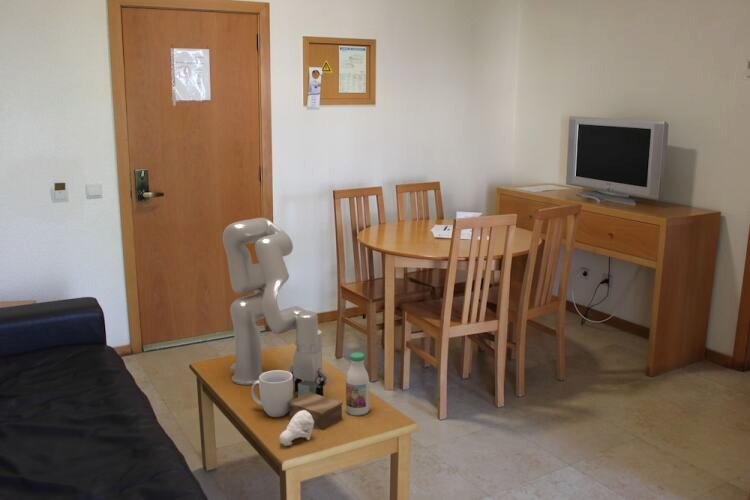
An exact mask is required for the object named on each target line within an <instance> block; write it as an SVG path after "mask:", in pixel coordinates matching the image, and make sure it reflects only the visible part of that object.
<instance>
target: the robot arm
mask: <svg viewBox="0 0 750 500" xmlns="http://www.w3.org/2000/svg"><path fill="white" fill-rule="evenodd" d="M254 243H255V244H254ZM222 244H223V247H224V251H225V253H226V257H227V266H228V272H229V279H230V285H231V288H232V291H233V292H235V294H239V295H241V294H247V293H250V292H251V293H252V292H254V293H252V294H248V295H245V296H241V297H238V298H237V299H235V300H234V301H233V302H232V303H231V305H230V309H229V310H230V317H231V321H232V325H233V335H234V337H233V338H234V353H235V355H234V356H235V362H233V363H232V365H231V366H230V370H231V371H234V374H233V375H232V376H231V377H232V378H231V379H232V382H233V383H235V384H238V385H242V386H250V385H251V386H253V384H254V383H255V382H256V381H258V380H259V377H260V375H261V374H263V373H265V372H266V371H263V364H262V363H263V362H262V361H263V360H262V340H261V339H262V337H261V335H262V334H261V329H260V328H259V326H258V325H257V324H256V321H258V320H261V319H265V322H266V323H267V326H268V327H269V329H270V330H271V331H272V332H273V333H275V334H278V335H279V334H283V333H286V332H287V333H288V332H290V331H292V330H295V342H294V345H295V346H296V349H295V350H294V353H293V360H292V362H293V363H292V365H290V366H288V370H289V372H290V373H291V374H292V375H293V384H294V392H295V393H298V383H300V382H302V381H308V382H314V383H315V384H316V386H317V387H316V394H317V395H321V396H324V386H325V385H326V384H327V382H328V380H329V378H330V377H329V375H328V374H327V373H326V372H325V371H323V360H322V361H321V356H320V352H319V350H318V330H319V327H318V325H319V324H318V323H319V321H318V314H317V313H316V312H315V311H311V310H306V309H305V308H302V307H301V306H299V305H297V306H290V307H288V308H284V309H281V310H280V308H279V305H278V295H279V292H280V290H281V289H282V287H283V286H284V284H285V283H287V281H288V280H289V278H290V274H289V272H288V268H287V266H286V263H285V259H284V257H286V256H289V255H291V253H292V252H293V250H294V249H293V248H294V246H293V241H292V239H291V237H290V236H289V234H287V233H286V231H284V230H283V229H282V228H280V227H279V226H278V225H277V224H275V223H274V222H272V221H271V220H270V219H268V218H265V217H256V218H251V219H244V220H239V221H235V222H233V223H230V224H229V225H227V226H226V227H225V229H224V230H223V233H222ZM248 244H254V252H255V256H256V259H257V260H258V263H253V260H252V255H251V251H250V250H249V249H248V247H247V246H246V245H248ZM318 380H319V382H320V383H319V382H318Z"/></svg>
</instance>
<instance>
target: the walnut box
mask: <svg viewBox="0 0 750 500" xmlns="http://www.w3.org/2000/svg"><path fill="white" fill-rule="evenodd" d="M288 405H289V411H288V412H289V413H288V414H289V419H290V420H291V419H292V417H293V416H294V415H295V414H296V413H298V412H299V411H302V410H306V411H307V412H309V413H310V414H311V415H312V418H313V420H314V426H313V429H314V428H315V429H318V430H321V431H323V430H324V429H326V428H328V427H330V426H331V425H334V424H336V423H337V422H339V421H341V420H342V419H343V402H342V401H340V400H335V399H332V398H329V397H326V396H324V395H323V396H321V395H317V394H314V393H311V392H309V393H306V394H304V395H302V396H300V397H298V396H297V397H296V398H293V399H292V401H290V402H288Z"/></svg>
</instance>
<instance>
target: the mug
mask: <svg viewBox="0 0 750 500" xmlns="http://www.w3.org/2000/svg"><path fill="white" fill-rule="evenodd" d="M264 372H265V373H263V374H261V375H260V377H259V380H258V381H256V382H255V383H254V384H252V385H251V391H250V392H251V397H252V399H253V400H254V402H255V403H256V404H258V405H260V406H262V408H263V410H264V412H265V413H266V415H268V416H269V417H272V418H280V417H284V416H285V415H287V414H289V413H288V412H289V405H288V402H290V401H292V400H294V398H293V397H294V381H293V375H292V374H291V372H290V371H287V370H280V369H277V370H276V369H274V370H269V371H264ZM257 385H258V387H259V398H260V399H259V398H258V397H257V393H256V388H257Z"/></svg>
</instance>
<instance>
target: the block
mask: <svg viewBox="0 0 750 500" xmlns="http://www.w3.org/2000/svg"><path fill="white" fill-rule="evenodd" d="M316 387H317V386H316V384H315V383H314V382H308V381H304V380H302V382H300V383H298V392H297V395H298V396H297V398H298V397H300V396H302V395H304V394H306V393H309V392H311V393H314V394H316Z"/></svg>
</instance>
